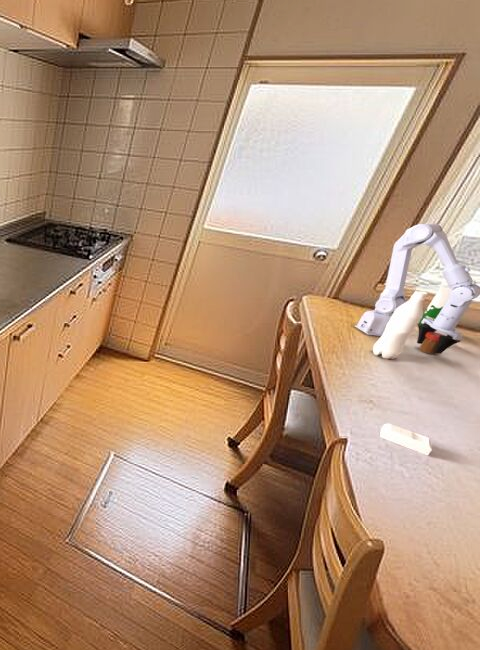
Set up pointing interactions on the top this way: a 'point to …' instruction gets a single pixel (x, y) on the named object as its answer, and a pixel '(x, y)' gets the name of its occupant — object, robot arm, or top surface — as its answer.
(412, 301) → the water bottle
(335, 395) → the top surface
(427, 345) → the jar
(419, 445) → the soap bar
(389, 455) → the top surface
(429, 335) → the lid
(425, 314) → the milk carton
